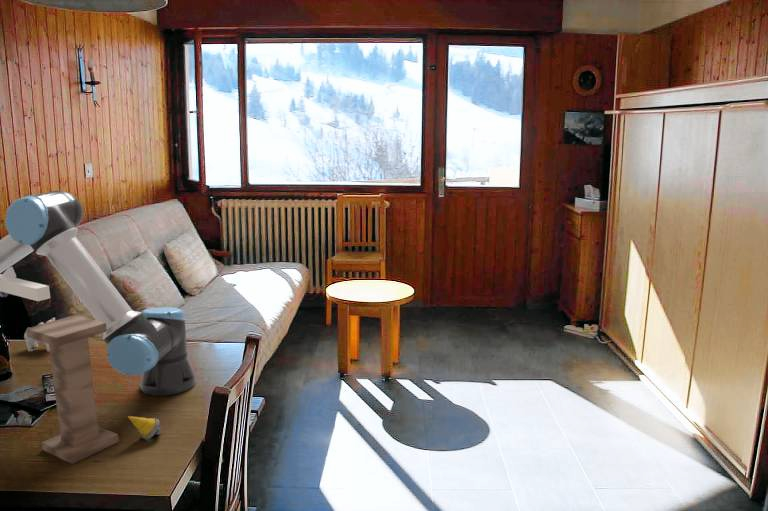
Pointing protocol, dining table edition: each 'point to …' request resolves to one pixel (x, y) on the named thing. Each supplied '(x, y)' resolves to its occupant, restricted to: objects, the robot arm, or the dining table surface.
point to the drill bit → (146, 426)
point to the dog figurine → (30, 340)
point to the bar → (24, 288)
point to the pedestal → (73, 388)
